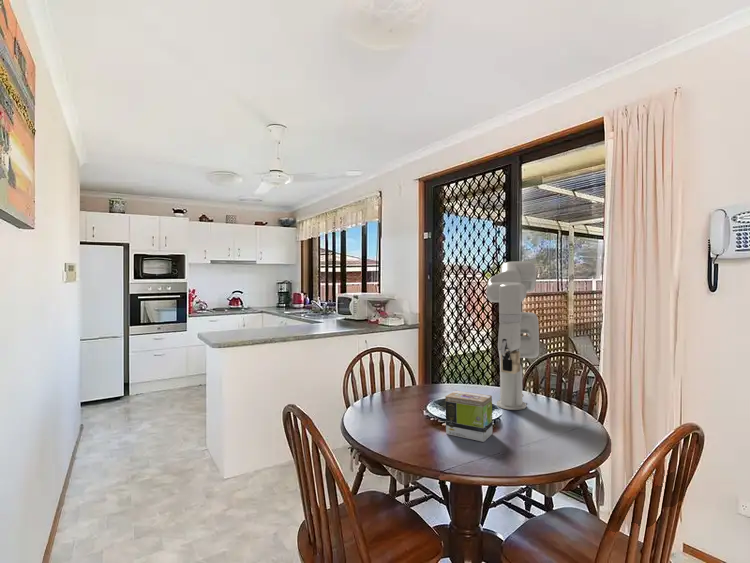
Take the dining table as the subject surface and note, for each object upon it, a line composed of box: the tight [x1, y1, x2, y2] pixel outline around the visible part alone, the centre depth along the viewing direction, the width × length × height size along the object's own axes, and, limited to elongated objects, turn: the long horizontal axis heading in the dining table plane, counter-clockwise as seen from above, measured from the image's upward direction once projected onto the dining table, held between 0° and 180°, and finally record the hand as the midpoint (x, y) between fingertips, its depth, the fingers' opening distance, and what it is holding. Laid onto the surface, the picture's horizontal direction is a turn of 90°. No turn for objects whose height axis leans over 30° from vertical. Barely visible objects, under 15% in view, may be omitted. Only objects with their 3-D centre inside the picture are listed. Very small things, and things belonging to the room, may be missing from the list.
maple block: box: [501, 350, 521, 374], centre depth 151 cm, size 5×5×7 cm
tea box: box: [444, 390, 493, 443], centre depth 159 cm, size 15×10×15 cm, turn 56°
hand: (510, 368), depth 152 cm, fingers closed on maple block, 5 cm apart
